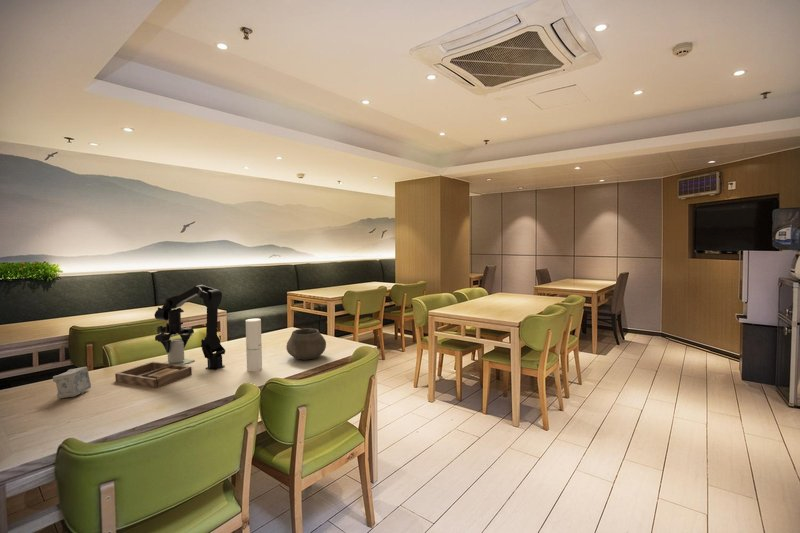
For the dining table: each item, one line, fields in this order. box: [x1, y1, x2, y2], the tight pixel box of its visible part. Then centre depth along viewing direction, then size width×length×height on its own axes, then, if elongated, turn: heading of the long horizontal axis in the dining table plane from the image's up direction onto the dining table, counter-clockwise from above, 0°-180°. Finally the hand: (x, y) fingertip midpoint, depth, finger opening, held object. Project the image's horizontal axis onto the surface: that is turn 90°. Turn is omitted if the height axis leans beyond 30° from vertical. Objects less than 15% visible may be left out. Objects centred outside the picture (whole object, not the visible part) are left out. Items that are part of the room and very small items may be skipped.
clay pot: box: [285, 327, 327, 361], centre depth 211 cm, size 22×21×15 cm
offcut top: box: [148, 368, 179, 379], centre depth 177 cm, size 7×10×2 cm, turn 166°
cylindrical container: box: [245, 317, 263, 372], centre depth 192 cm, size 7×7×25 cm
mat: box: [163, 358, 195, 366], centre depth 202 cm, size 12×12×1 cm
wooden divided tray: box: [114, 361, 192, 389], centre depth 180 cm, size 25×18×4 cm
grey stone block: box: [52, 366, 92, 400], centre depth 161 cm, size 10×8×10 cm
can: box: [167, 338, 185, 364], centre depth 201 cm, size 8×8×12 cm
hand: (175, 350), depth 201 cm, fingers open, 9 cm apart
